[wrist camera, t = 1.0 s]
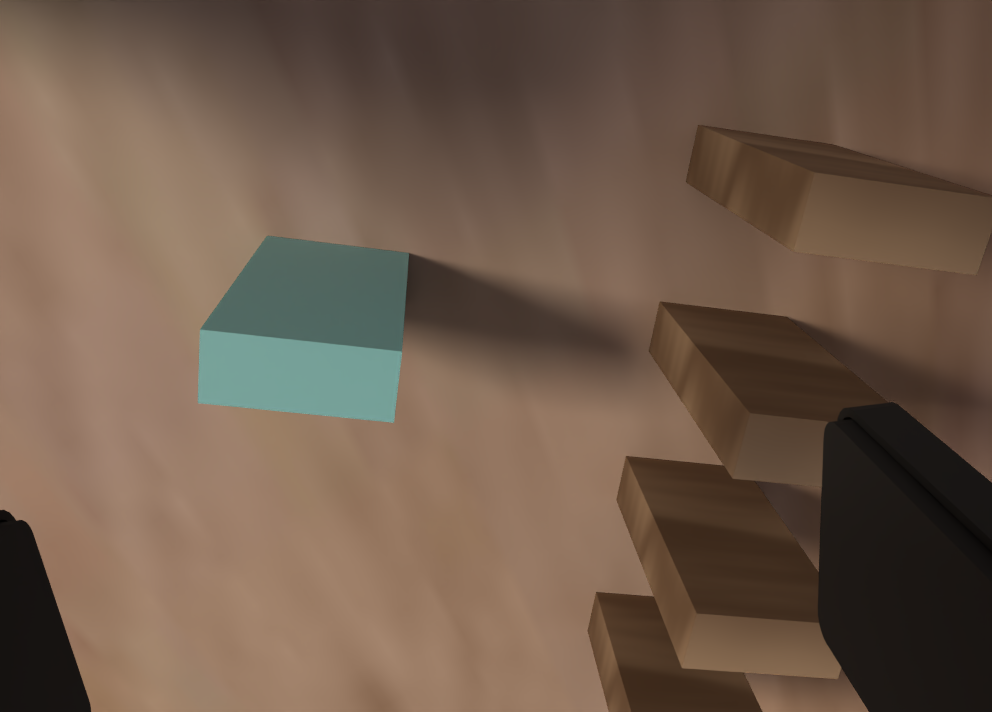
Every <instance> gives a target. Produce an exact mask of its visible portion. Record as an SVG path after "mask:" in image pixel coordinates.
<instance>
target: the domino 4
mask: <svg viewBox="0 0 992 712" xmlns="http://www.w3.org/2000/svg"><path fill="white" fill-rule="evenodd" d="M588 634H589V638H590V641H591V645H592V649H593V653H594V657H595V661H596V664H597V668H598V672H599V676H600V680H601V684H602V687H603V691H604V695H605V699H606V703H607V706H608V710H609V712H762V710H761V708H760V706H759V704H758V702H757V700H756V697H755V695H754V693H753V691H752V689H751V687H750V685H749V683H748V681H747V679H746V677H745V675H744V673H743V672H729V671H715V670H701V669H687V668H682V667H681V664H680V662H679V659H678V657H677V654H676V651H675V649H674V646H673V644H672V641H671V639H670V636H669V634H668V631H667V628H666V626H665V623H664V621H663V618H662V616H661V613H660V610H659V608H658V605H657V603H656V600H655V598H654V597H649V596H637V595H624V594H612V593H599V592H596V596H595V600H594V605H593V609H592V614H591V618H590V623H589V628H588Z"/></svg>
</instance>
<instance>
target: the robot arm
mask: <svg viewBox="0 0 992 712" xmlns="http://www.w3.org/2000/svg"><path fill="white" fill-rule="evenodd" d="M818 619H819V625H820V629H821V632H822V635H823V638H824V640H825V642H826V644H827V645H828V647H829V648H830V650H831V652H832V653H833V655H834V656H835V658H836V660H837V661H838V663H839V664H840V666H841V668H842V669H843V671H844V672H845V674H846V676H847V677H848V679H849V680H850V682H851V684H852V685H853V687H854V688H855V690H856V692H857V693H858V695H859V696H860V698H861V699H862V701H863V703H864V704H865V706H866V707H867V709H868V711H869V712H992V483H991V482H990V481H989V480H988V479H987V478H985V477H984V476H983V475H982V474H981V473H979V472H978V471H977V470H976V469H975V468H973V467H972V466H971V465H970V464H969V463H967V462H966V461H965V460H964V459H963V458H961V457H960V456H959V455H958V454H957V453H955V452H954V451H953V450H952V449H951V448H949V447H948V446H947V445H946V444H945V443H943V442H942V441H941V440H940V439H939V438H937V437H936V436H935V435H934V434H933V433H931V432H930V431H929V430H928V429H927V428H925V427H924V426H923V425H922V424H921V423H919V422H918V421H917V420H916V419H915V418H913V417H912V416H911V415H910V414H909V413H907V412H906V411H905V410H904V409H902V408H901V407H900V406H899V405H897V404H895V403H893V402H890V403H882V404H874V405H865V406H857V407H849V408H843V409H842V410H841V411H840V413H839V416H838V419H837V421H833V422H828V423H827V424H826V427H825V429H824V438H823V467H822V496H821V525H820V554H819V583H818ZM0 712H91V707H90V702H89V699H88V696H87V693H86V690H85V687H84V684H83V681H82V678H81V675H80V672H79V669H78V666H77V663H76V660H75V657H74V654H73V651H72V648H71V645H70V642H69V639H68V636H67V633H66V630H65V627H64V624H63V621H62V618H61V615H60V612H59V609H58V606H57V603H56V600H55V597H54V594H53V591H52V588H51V585H50V583H49V580H48V577H47V574H46V571H45V568H44V565H43V562H42V559H41V556H40V553H39V550H38V547H37V544H36V541H35V538H34V535H33V532H32V530H31V528H30V526H29V525H28V524H27V523H26V522H25V521H23V520H18V521H16V520H15V518H14V517H13V516H12V515H11V514H10V513H9V512H7V511H5V510H0Z"/></svg>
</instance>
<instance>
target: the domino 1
mask: <svg viewBox="0 0 992 712" xmlns="http://www.w3.org/2000/svg"><path fill="white" fill-rule="evenodd" d="M686 183H688V184H690V185H691V186H693V187H694V188H696V189H697V190H699V191H700V192H702V193H703V194H705V195H707V196H708V197H710V198H711V199H713V200H714V201H716V202H717V203H719V204H720V205H722V206H724V207H725V208H727V209H728V210H730V211H731V212H733V213H734V214H736V215H737V216H739V217H741V218H742V219H744V220H745V221H747V222H748V223H750V224H751V225H753V226H754V227H756V228H758V229H759V230H761V231H762V232H764V233H765V234H767V235H768V236H770V237H771V238H773V239H775V240H776V241H778V242H779V243H781V244H782V245H784V246H785V247H787V248H788V249H790V250H792V251H793V252H799V253H807V254H815V255H822V256H830V257H838V258H845V259H853V260H861V261H869V262H876V263H884V264H892V265H899V266H907V267H915V268H923V269H930V270H938V271H946V272H953V273H961V274H969V275H977V273H978V270H979V267H980V264H981V261H982V258H983V256H984V253H985V250H986V247H987V244H988V241H989V238H990V235H991V232H992V195H989V194H986V193H982V192H979V191H976V190H973V189H970V188H967V187H964V186H961V185H957V184H954V183H951V182H948V181H945V180H942V179H939V178H936V177H933V176H929V175H926V174H923V173H920V172H917V171H914V170H911V169H908V168H904V167H901V166H898V165H895V164H892V163H889V162H886V161H883V160H880V159H876V158H873V157H870V156H867V155H864V154H861V153H858V152H855V151H851V150H848V149H845V148H842V147H839V146H836V145H832V144H825V143H818V142H811V141H805V140H798V139H791V138H784V137H777V136H770V135H763V134H756V133H750V132H743V131H736V130H729V129H722V128H715V127H708V126H701V125H698V129H697V133H696V138H695V142H694V147H693V152H692V156H691V161H690V165H689V170H688V174H687V179H686Z"/></svg>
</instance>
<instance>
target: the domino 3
mask: <svg viewBox="0 0 992 712" xmlns="http://www.w3.org/2000/svg"><path fill="white" fill-rule="evenodd" d="M617 502H618V505H619V508H620V510H621V513H622V515H623V518H624V520H625V523H626V526H627V528H628V531H629V533H630V536H631V538H632V541H633V544H634V546H635V549H636V551H637V554H638V556H639V559H640V562H641V564H642V567H643V569H644V572H645V574H646V577H647V580H648V582H649V585H650V587H651V590H652V592H653V595H654V598H655V600H656V603H657V605H658V608H659V610H660V613H661V616H662V618H663V621H664V623H665V626H666V628H667V631H668V634H669V636H670V639H671V641H672V644H673V646H674V649H675V651H676V654H677V657H678V659H679V662H680V664H681V667H682V668H687V669H701V670H715V671H729V672H744V673H758V674H772V675H787V676H801V677H815V678H829V679H838V677H839V674H840V671H841V666H840V664H839V663H838V661H837V660H836V658H835V656H834V655H833V653H832V652H831V650H830V648H829V647H828V645H827V644H826V642H825V640H824V638H823V635H822V632H821V629H820V625H819V619H818V583H819V572H818V571H817V569H816V568H815V567H814V565H813V564H812V562H811V561H810V559H809V558H808V557H807V555H806V554H805V552H804V551H803V549H802V548H801V547H800V545H799V544H798V542H797V541H796V539H795V538H794V537H793V535H792V534H791V532H790V531H789V529H788V528H787V527H786V525H785V524H784V522H783V521H782V519H781V518H780V517H779V515H778V514H777V512H776V511H775V509H774V508H773V507H772V505H771V504H770V502H769V501H768V499H767V498H766V497H765V495H764V494H763V492H762V491H761V489H760V488H759V487H758V485H757V484H756V482H755V481H752V480H741V479H732V477H731V475H730V474H729V472H728V471H727V469H726V468H725V466H720V465H710V464H700V463H690V462H680V461H669V460H659V459H649V458H639V457H629V456H626V459H625V463H624V468H623V472H622V477H621V482H620V486H619V491H618V495H617Z"/></svg>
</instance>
